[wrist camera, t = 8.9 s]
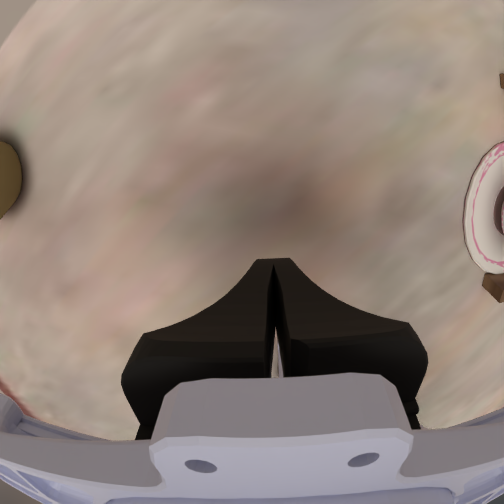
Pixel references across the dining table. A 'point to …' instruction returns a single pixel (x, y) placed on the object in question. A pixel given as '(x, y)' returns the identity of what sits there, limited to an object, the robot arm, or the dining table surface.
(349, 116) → the dining table surface
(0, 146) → the squeeze bottle
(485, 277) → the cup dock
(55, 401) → the dining table surface
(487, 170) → the teacup
